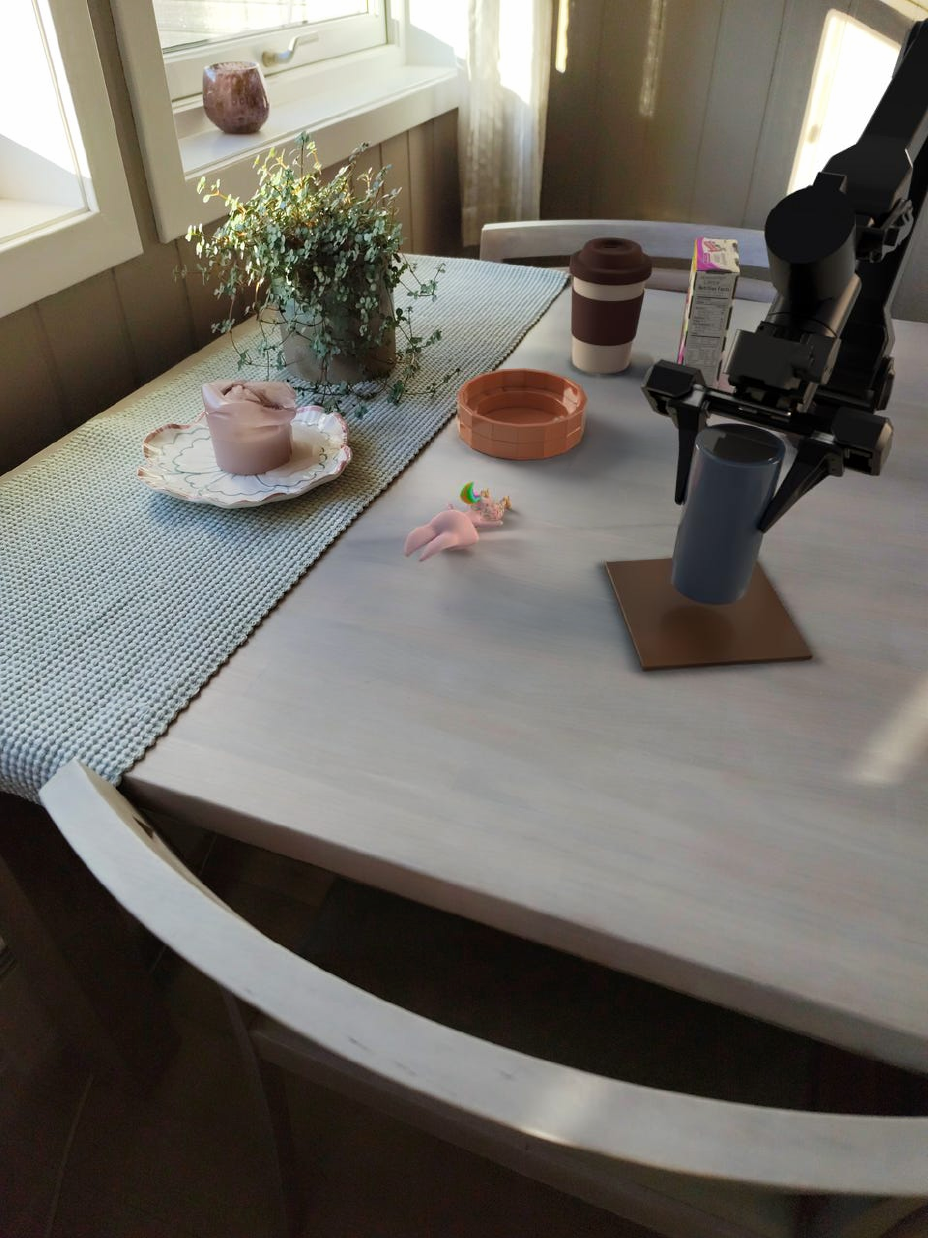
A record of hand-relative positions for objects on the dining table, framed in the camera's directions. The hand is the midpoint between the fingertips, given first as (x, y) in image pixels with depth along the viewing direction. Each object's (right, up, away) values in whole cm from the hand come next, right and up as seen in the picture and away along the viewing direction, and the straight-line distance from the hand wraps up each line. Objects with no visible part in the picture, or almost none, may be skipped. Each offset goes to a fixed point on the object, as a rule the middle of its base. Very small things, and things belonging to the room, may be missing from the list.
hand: (718, 517), depth 67 cm
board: (+1, -7, +7) cm, 10 cm away
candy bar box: (+9, +21, +40) cm, 46 cm away
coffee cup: (-2, +25, +46) cm, 52 cm away
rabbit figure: (-20, -1, +15) cm, 25 cm away
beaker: (+1, -5, +5) cm, 7 cm away
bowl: (-13, +13, +32) cm, 37 cm away
